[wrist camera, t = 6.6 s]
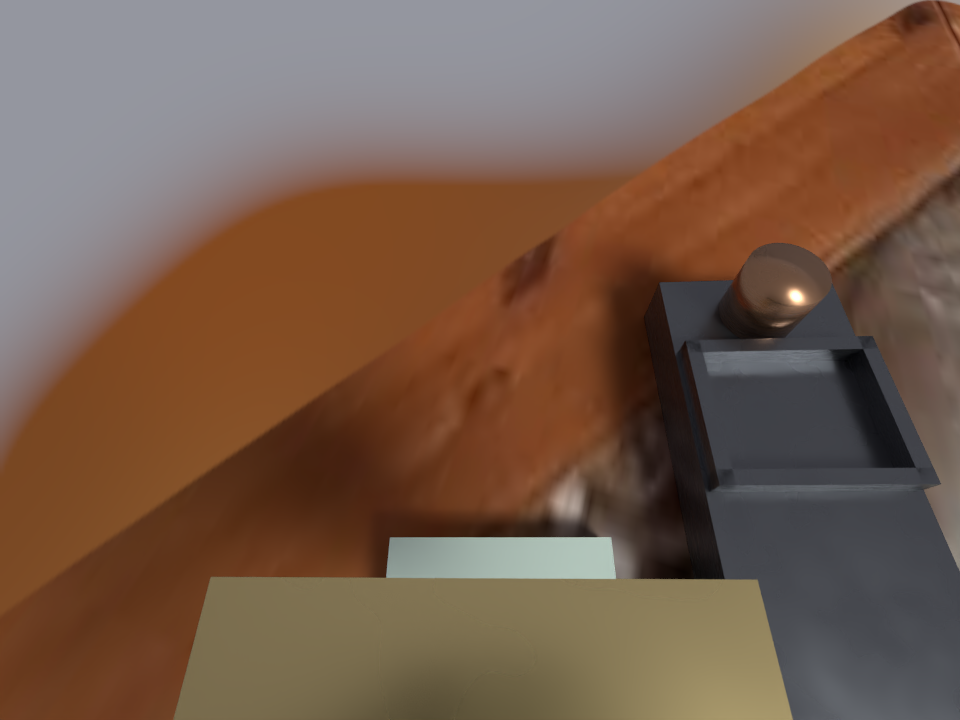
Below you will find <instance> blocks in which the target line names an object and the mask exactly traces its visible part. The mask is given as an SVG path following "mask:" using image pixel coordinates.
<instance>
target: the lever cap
mask: <svg viewBox="0 0 960 720" xmlns="http://www.w3.org/2000/svg"><path fill="white" fill-rule="evenodd" d="M174 720H793V718H792V714H791V710H790V706H789V702H788V698H787V694H786V690H785V686H784V682H783V678H782V675H781V671H780V667H779V663H778V659H777V655H776V651H775V647H774V643H773V639H772V635H771V631H770V627H769V623H768V619H767V615H766V611H765V607H764V603H763V599H762V595H761V591H760V588H759V584H758V580H729V579H528V578H327V577H211V578H210V582H209V586H208V590H207V593H206V597H205V601H204V605H203V609H202V613H201V616H200V620H199V624H198V628H197V632H196V635H195V639H194V643H193V647H192V651H191V655H190V658H189V662H188V666H187V670H186V674H185V678H184V681H183V685H182V689H181V693H180V697H179V700H178V704H177V708H176V712H175V716H174Z"/></svg>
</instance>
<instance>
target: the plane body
mask: <svg viewBox="0 0 960 720" xmlns="http://www.w3.org/2000/svg"><path fill="white" fill-rule="evenodd" d="M644 319H645V324H646V330H647V335H648V340H649V345H650V350H651V356H652V361H653V366H654V371H655V376H656V381H657V387H658V392H659V397H660V402H661V407H662V413H663V418H664V423H665V428H666V433H667V439H668V444H669V449H670V454H671V459H672V465H673V470H674V475H675V480H676V485H677V490H678V496H679V501H680V506H681V511H682V516H683V522H684V527H685V532H686V537H687V542H688V548H689V553H690V558H691V563H692V568H693V574H694V579H729V580H758V584H759V588H760V591H761V595H762V599H763V603H764V607H765V611H766V615H767V619H768V623H769V627H770V631H771V635H772V639H773V643H774V647H775V651H776V655H777V659H778V663H779V667H780V671H781V675H782V678H783V682H784V686H785V690H786V694H787V698H788V702H789V706H790V710H791V714H792V718H793V720H960V571H959V569H958V567H957V565H956V562H955V560H954V558H953V556H952V553H951V551H950V549H949V547H948V544H947V542H946V540H945V538H944V535H943V533H942V531H941V528H940V526H939V524H938V522H937V519H936V517H935V515H934V513H933V510H932V508H931V506H930V504H929V501H928V499H927V497H926V495H925V492H924V489H927V488H930V487H933V486H937V485H940V484H941V483H940V481H939V479H938V477H937V474H936V472H935V470H934V468H933V466H932V464H931V461H930V459H929V457H928V455H927V453H926V451H925V448H924V446H923V444H922V442H921V440H920V438H919V435H918V433H917V431H916V429H915V427H914V425H913V423H912V420H911V418H910V416H909V414H908V412H907V410H906V407H905V405H904V403H903V401H902V399H901V397H900V394H899V392H898V390H897V388H896V386H895V384H894V381H893V379H892V377H891V375H890V373H889V371H888V368H887V366H886V364H885V362H884V360H883V358H882V356H881V353H880V351H879V349H878V347H877V345H876V343H875V340H874V338H873V336H855V334H854V332H853V329H852V327H851V325H850V323H849V320H848V318H847V316H846V314H845V311H844V309H843V307H842V305H841V302H840V300H839V298H838V296H837V293H836V291H835V289H834V287H833V284H832V279H831V274H830V272H829V270H828V268H827V266H826V265H825V264H824V263H823V261H822V260H821V259H820V258H818V257H817V256H816V255H815V254H813V253H811V252H810V251H808V250H806V249H804V248H801V247H799V246H796V245H792V244H786V243H772V244H767V245H764V246H761V247H759V248H757V249H756V250H755V251H753V252H752V254H751V255H750V256H749V258H748V259H747V261H746V262H745V264H744V265H743V267H742V268H741V270H740V271H739V273H738V274H737V276H736V277H735V279H734V280H729V281H695V282H661V283H659V285H658V287H657V289H656V291H655V294H654V296H653V298H652V300H651V303H650V305H649V307H648V309H647V311H646V314H645V316H644Z"/></svg>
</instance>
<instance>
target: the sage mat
mask: <svg viewBox="0 0 960 720" xmlns="http://www.w3.org/2000/svg"><path fill="white" fill-rule="evenodd" d="M386 578H528V579H616V575H615V566H614V558H613V550H612V541H611V537H390V542H389V553H388V563H387V574H386Z"/></svg>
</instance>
